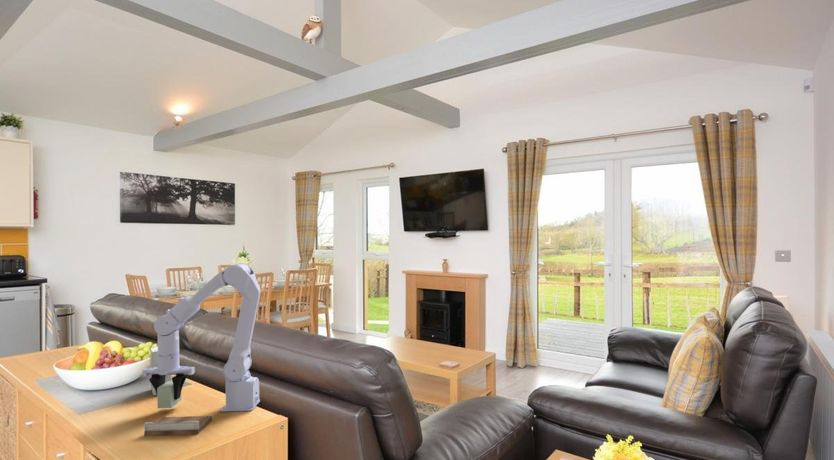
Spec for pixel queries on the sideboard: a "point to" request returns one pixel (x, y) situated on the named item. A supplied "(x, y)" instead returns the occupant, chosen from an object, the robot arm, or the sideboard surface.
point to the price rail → (171, 425)
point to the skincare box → (156, 365)
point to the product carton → (166, 396)
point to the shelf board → (202, 424)
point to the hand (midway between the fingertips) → (169, 398)
